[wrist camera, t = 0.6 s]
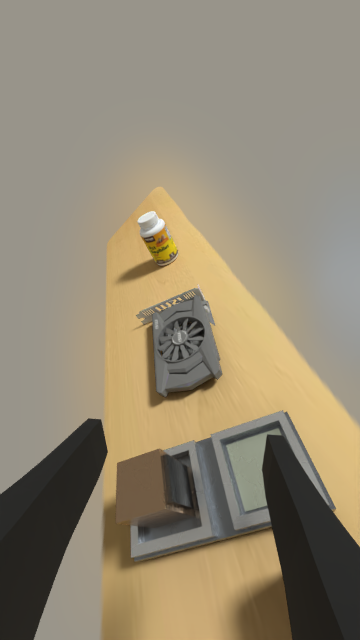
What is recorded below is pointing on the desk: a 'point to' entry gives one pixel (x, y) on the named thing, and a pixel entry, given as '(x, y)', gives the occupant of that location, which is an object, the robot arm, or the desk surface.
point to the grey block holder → (203, 488)
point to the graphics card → (183, 343)
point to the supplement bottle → (157, 238)
